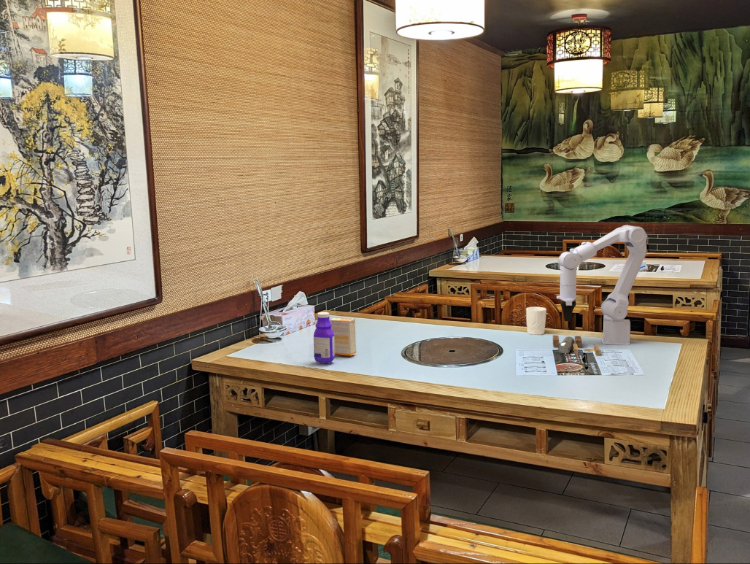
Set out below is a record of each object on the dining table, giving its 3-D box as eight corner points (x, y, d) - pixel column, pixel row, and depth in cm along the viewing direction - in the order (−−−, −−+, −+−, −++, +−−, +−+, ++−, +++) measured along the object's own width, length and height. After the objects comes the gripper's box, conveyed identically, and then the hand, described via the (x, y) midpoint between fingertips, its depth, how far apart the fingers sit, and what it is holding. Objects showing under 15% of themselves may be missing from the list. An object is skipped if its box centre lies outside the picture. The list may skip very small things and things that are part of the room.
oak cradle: (597, 351, 242) (597, 344, 241) (600, 357, 233) (600, 350, 232) (572, 350, 243) (572, 343, 243) (574, 356, 235) (574, 349, 234)
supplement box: (356, 352, 247) (355, 318, 245) (350, 356, 242) (349, 320, 240) (337, 350, 250) (335, 316, 248) (330, 354, 246) (329, 319, 244)
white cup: (547, 335, 267) (548, 310, 265) (527, 335, 267) (528, 310, 265) (543, 330, 275) (543, 306, 273) (524, 330, 275) (524, 306, 273)
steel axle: (564, 347, 250) (562, 337, 249) (575, 346, 248) (573, 336, 247) (558, 355, 239) (556, 344, 238) (570, 354, 237) (568, 343, 237)
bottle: (337, 359, 238) (335, 311, 235) (331, 364, 233) (329, 315, 230) (318, 358, 240) (316, 310, 238) (311, 362, 235) (310, 314, 232)
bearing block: (580, 344, 251) (580, 336, 251) (581, 349, 245) (582, 340, 244) (552, 343, 254) (552, 335, 253) (553, 348, 247) (553, 339, 246)
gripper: (556, 281, 255) (555, 316, 257) (557, 288, 241) (557, 325, 243) (575, 281, 253) (574, 317, 255) (578, 288, 239) (577, 325, 241)
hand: (567, 321), depth 249 cm, fingers closed
